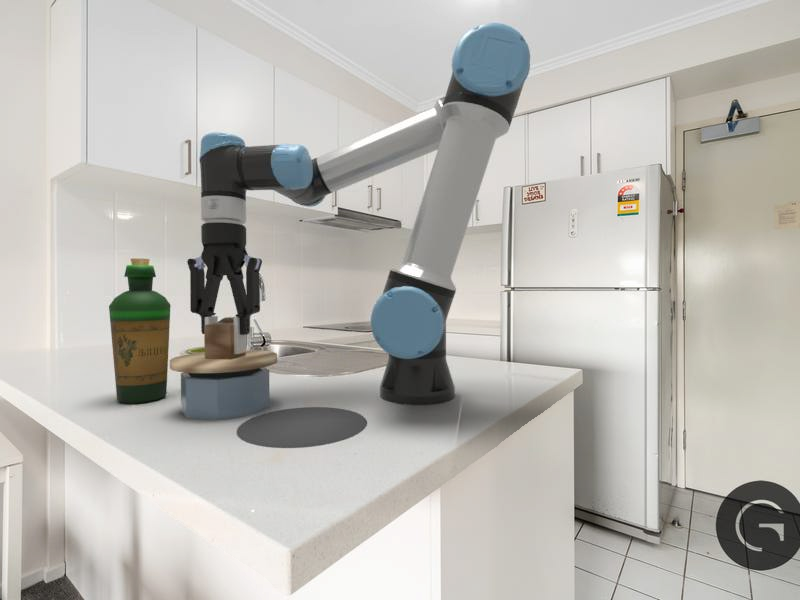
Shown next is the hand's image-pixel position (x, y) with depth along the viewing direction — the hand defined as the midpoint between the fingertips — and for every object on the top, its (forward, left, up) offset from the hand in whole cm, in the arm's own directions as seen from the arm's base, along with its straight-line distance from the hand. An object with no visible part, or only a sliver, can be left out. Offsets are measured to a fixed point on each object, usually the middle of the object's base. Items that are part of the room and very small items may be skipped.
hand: (225, 352), depth 78 cm
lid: (0, 0, -2) cm, 2 cm away
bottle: (+21, -4, -11) cm, 24 cm away
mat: (-18, +7, -11) cm, 22 cm away
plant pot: (+13, -15, -11) cm, 23 cm away
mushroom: (+17, -29, -11) cm, 35 cm away
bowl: (0, 0, -11) cm, 11 cm away
